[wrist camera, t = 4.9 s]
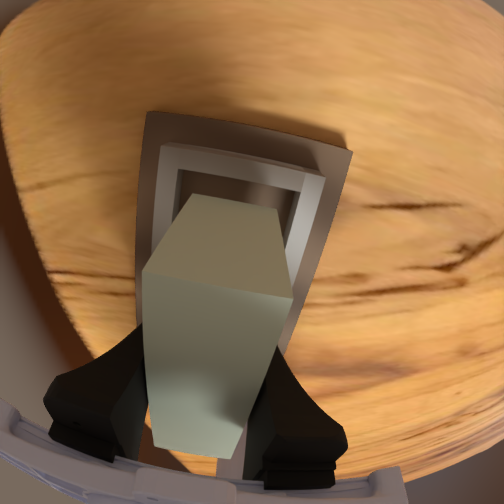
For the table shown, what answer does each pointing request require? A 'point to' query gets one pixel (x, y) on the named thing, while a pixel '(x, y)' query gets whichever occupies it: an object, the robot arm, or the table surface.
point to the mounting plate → (239, 187)
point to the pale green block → (212, 321)
